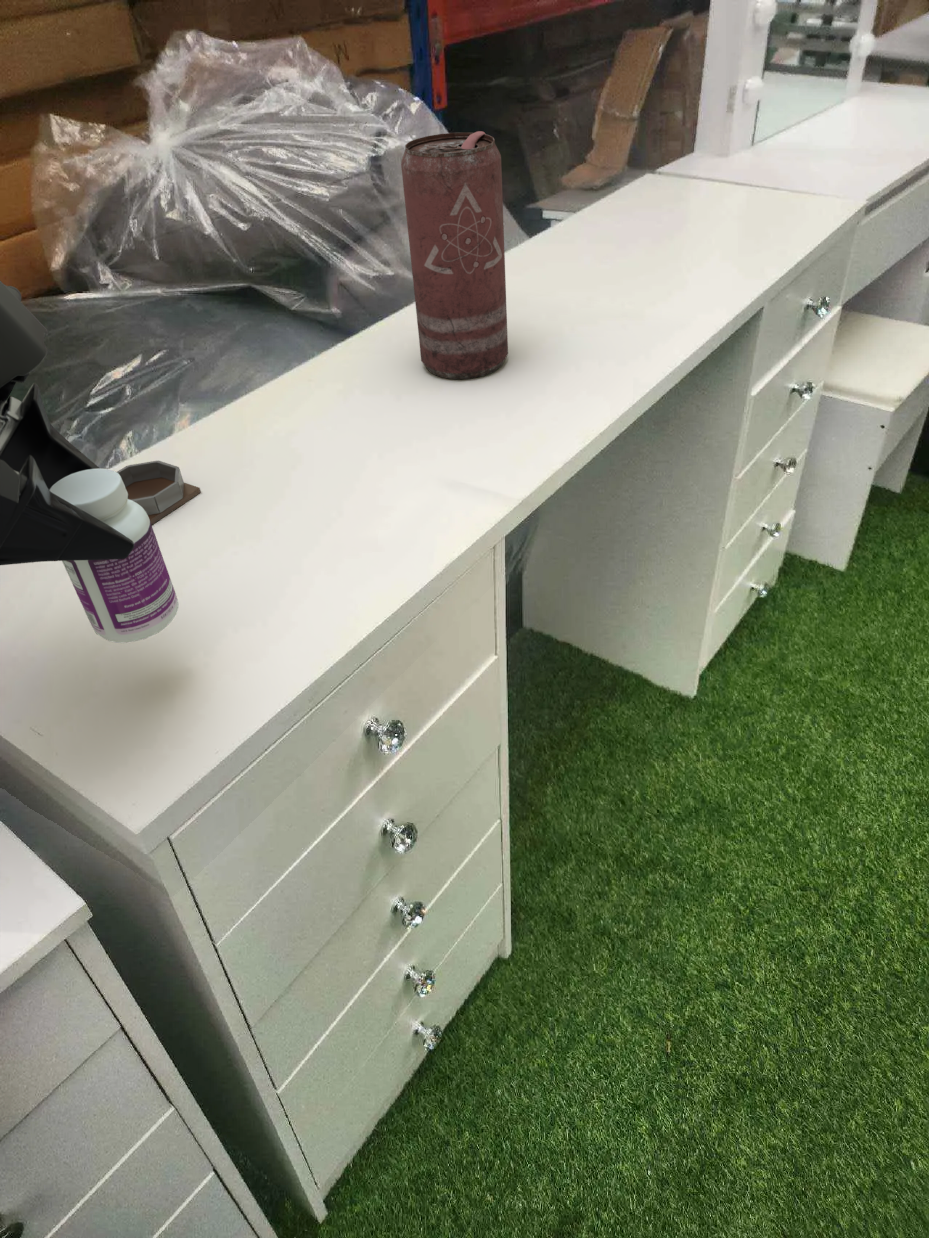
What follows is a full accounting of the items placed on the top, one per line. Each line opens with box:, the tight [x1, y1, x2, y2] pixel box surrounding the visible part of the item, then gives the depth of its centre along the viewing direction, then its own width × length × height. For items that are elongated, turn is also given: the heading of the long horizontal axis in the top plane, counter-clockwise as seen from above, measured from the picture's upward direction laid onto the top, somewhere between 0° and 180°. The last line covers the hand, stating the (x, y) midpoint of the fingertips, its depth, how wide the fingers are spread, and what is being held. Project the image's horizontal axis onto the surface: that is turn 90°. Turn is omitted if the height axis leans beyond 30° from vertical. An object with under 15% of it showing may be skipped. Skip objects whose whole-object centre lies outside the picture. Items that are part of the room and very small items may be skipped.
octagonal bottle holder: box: [116, 460, 202, 526], centre depth 76 cm, size 7×7×2 cm
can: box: [400, 130, 509, 380], centre depth 88 cm, size 9×10×22 cm
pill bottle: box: [50, 467, 179, 644], centre depth 51 cm, size 5×5×10 cm
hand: (127, 525), depth 51 cm, fingers closed on pill bottle, 5 cm apart
